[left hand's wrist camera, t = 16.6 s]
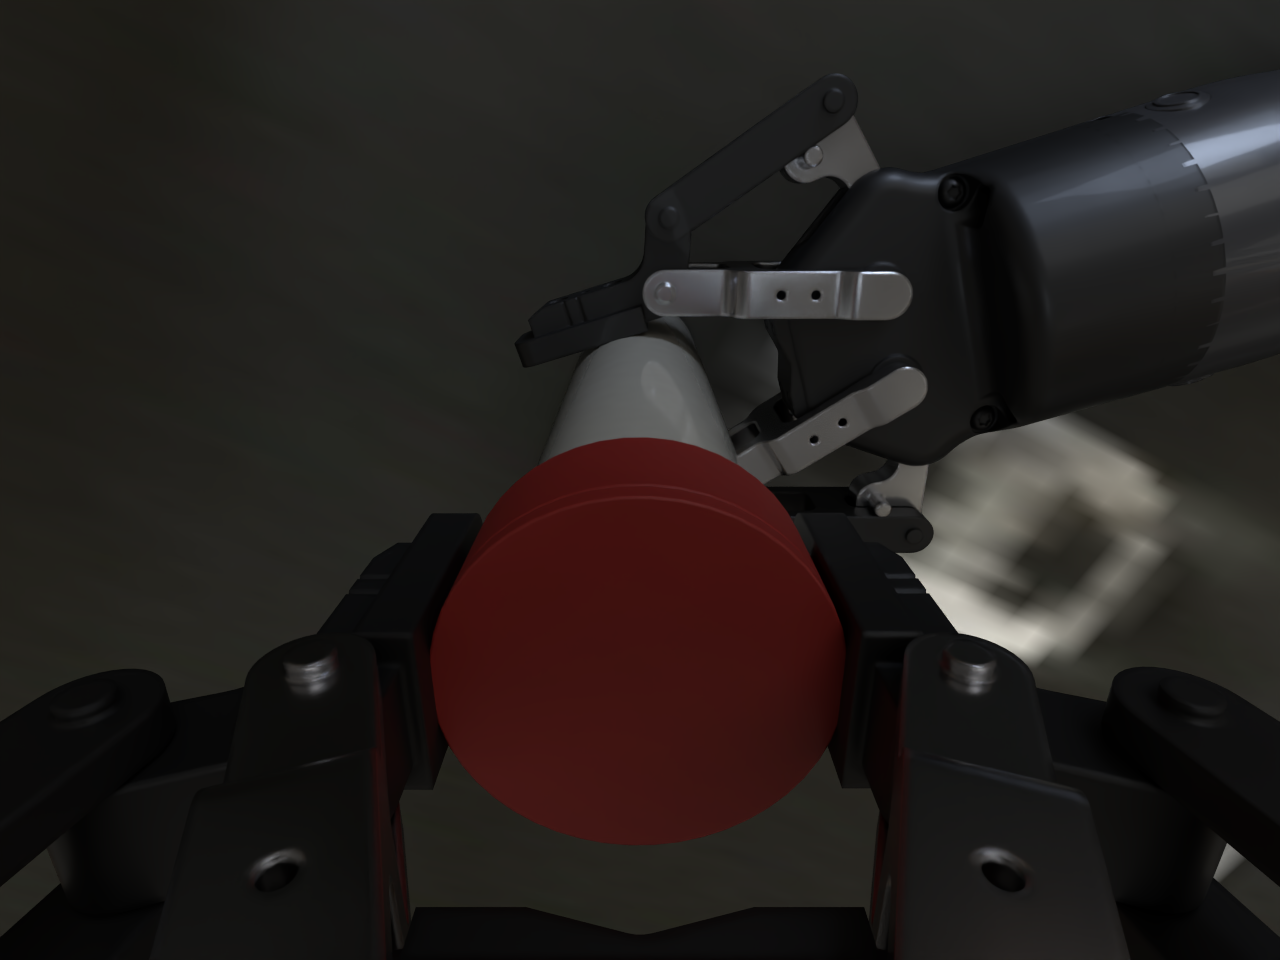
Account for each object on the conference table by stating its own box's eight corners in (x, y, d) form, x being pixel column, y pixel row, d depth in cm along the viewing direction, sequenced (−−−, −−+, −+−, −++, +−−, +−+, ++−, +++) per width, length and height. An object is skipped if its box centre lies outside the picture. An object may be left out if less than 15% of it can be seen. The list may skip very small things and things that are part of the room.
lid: (422, 475, 10) (366, 545, 8) (784, 401, 10) (822, 454, 8) (520, 757, 12) (495, 873, 10) (827, 705, 11) (868, 813, 9)
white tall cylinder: (651, 277, 26) (675, 444, 8) (717, 370, 27) (864, 691, 9) (560, 347, 27) (404, 634, 9) (628, 433, 28) (608, 836, 10)
